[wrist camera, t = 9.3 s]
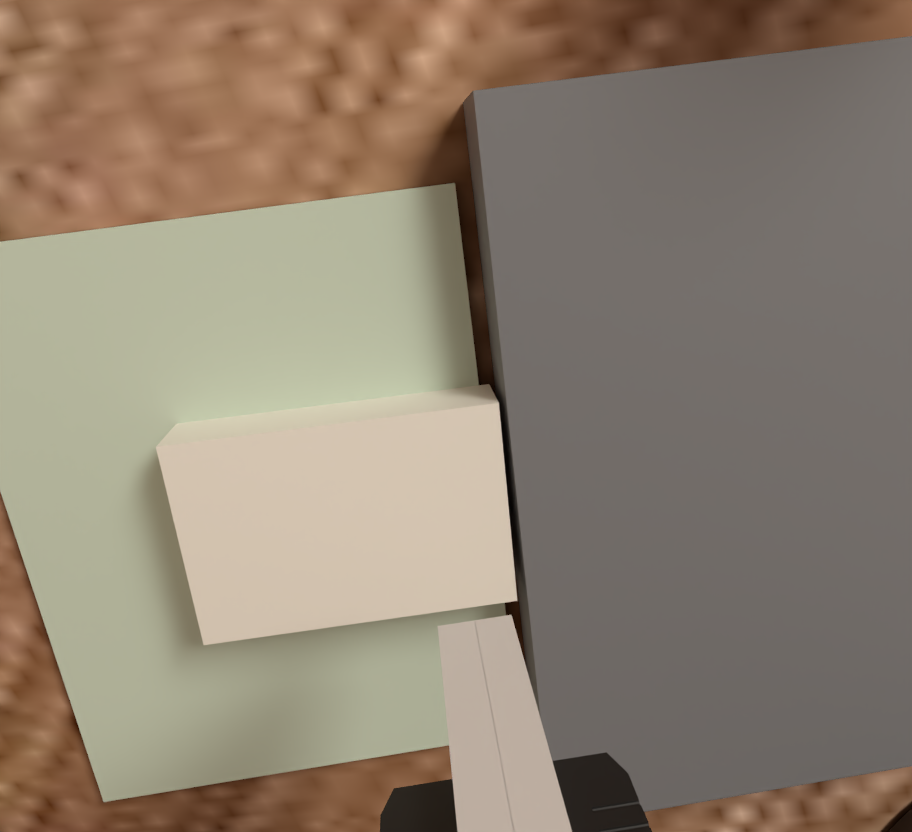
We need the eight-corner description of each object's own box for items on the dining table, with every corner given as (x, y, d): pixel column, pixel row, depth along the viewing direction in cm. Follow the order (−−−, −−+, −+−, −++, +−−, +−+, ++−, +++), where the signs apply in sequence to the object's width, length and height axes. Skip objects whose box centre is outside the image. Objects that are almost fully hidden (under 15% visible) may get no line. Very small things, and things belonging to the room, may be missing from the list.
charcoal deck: (918, 706, 27) (969, 756, 25) (537, 769, 27) (552, 827, 24) (968, 38, 21) (1045, 19, 18) (463, 102, 20) (473, 90, 18)
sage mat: (518, 725, 26) (520, 733, 26) (107, 792, 25) (103, 802, 25) (453, 182, 21) (454, 182, 20) (-71, 250, 20) (-80, 252, 20)
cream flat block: (489, 383, 22) (498, 403, 20) (506, 567, 24) (517, 600, 22) (176, 423, 21) (155, 446, 20) (218, 607, 23) (203, 645, 21)
